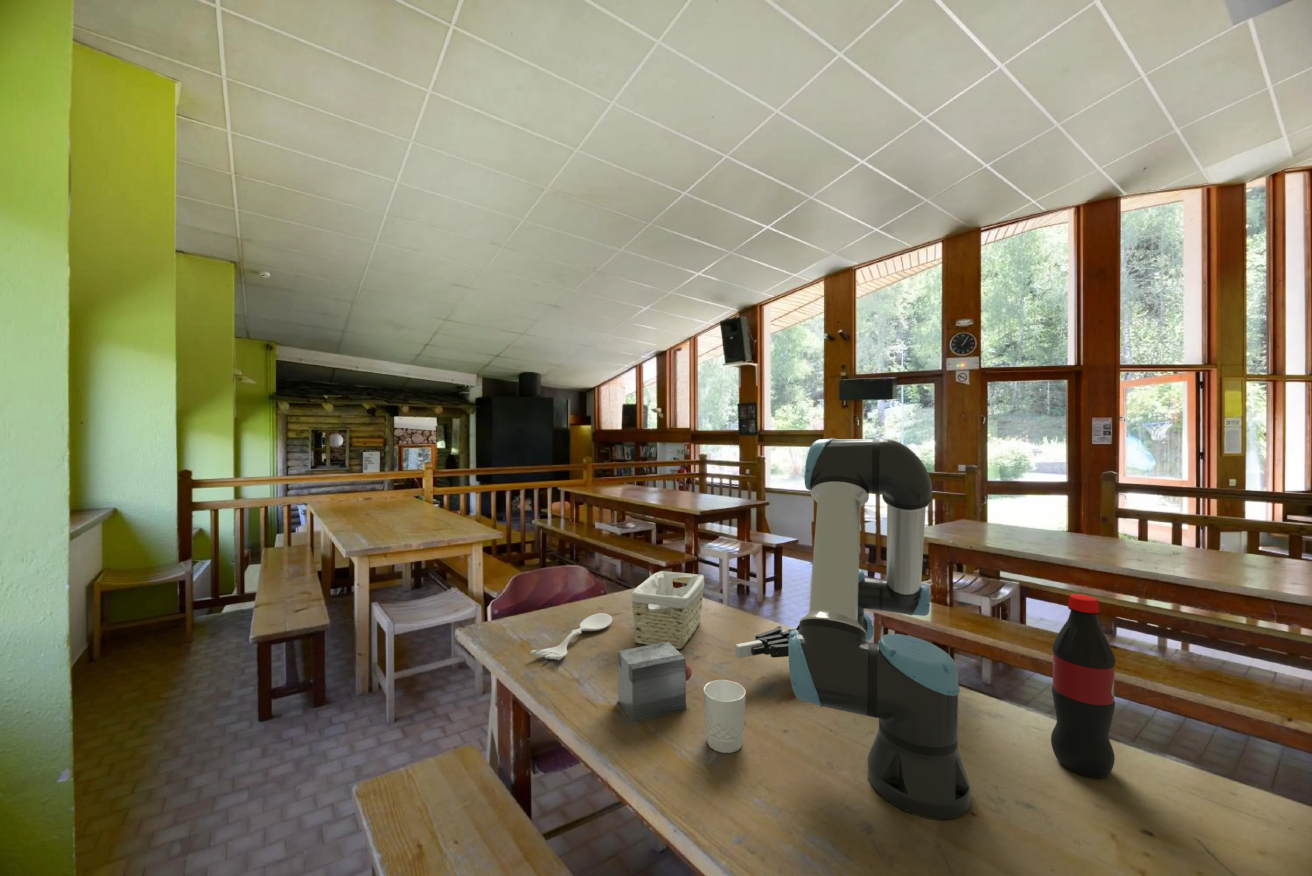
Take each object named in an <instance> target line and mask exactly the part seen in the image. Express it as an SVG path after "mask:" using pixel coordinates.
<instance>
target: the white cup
mask: <svg viewBox="0 0 1312 876" xmlns="http://www.w3.org/2000/svg"><path fill="white" fill-rule="evenodd" d="M746 692H747V691H746V689H745V687H744V686H743V685H741V684H740V683H739V682H735V681H733V680H728V679H727V680H726V679H716V680H712V681H709V682H708V683H706V684H705V685H704V687H703V703H704V704H703V705H704V708H703V709H704V721H705V722H704V723H705V728H706V731H705V732H706V743H707V745H708V747H709V748H710V749H712V750H714V751H715V752H719V753H722V754H733V753H734V752H738V751H739V750H740V749H741V748H742V747H743V737H744V736H743V734H744V731H745V715H746V712H745V711H746Z"/></svg>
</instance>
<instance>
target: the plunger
mask: <svg viewBox="0 0 1312 876" xmlns="http://www.w3.org/2000/svg"><path fill="white" fill-rule="evenodd" d="M692 673H693V672H692V668H691V665H689V664H688V663H687V662H686V682H688V681H689V680H690V679H691V677H692Z"/></svg>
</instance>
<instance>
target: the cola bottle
mask: <svg viewBox="0 0 1312 876" xmlns="http://www.w3.org/2000/svg"><path fill="white" fill-rule="evenodd" d="M1067 608H1068V610H1070V613H1069V615H1068V618H1067V620H1066V622H1065V623H1064V624H1063V626H1062V627H1061V629H1060V630H1059V632H1058V633H1057V636H1056V637H1055V639H1054V641H1053V643H1052V644H1051V645H1052V649H1051V650H1052V684H1051V695H1052V700H1053V705H1054V711H1055V717H1056V723H1055V726H1054V728H1053V729H1052V731H1051V735H1050V745H1051V749H1052V751H1053V754H1054V756H1055V757H1056V759H1057V761H1059V762H1060V764H1062V765H1063V766H1064V767H1066V768H1068V769H1069V770H1071V771H1073V772H1074V773H1076V774H1079V775H1082V776H1084V777H1085V776H1086V777H1089V778H1090V777H1091V778H1103V777H1104V778H1105V777H1107V776H1109V774H1110V773H1111V772H1112V770H1113V768H1114V766H1115V759H1116V758H1115V752H1114V749H1113V746H1112V743H1111V740H1110V738H1109V737H1110V736H1109V734H1110V731H1111V727H1112V726H1111V725H1112V722H1113V717H1114V714H1115V708H1116V702H1115V666H1116V664H1117V663H1116V660H1117V659H1116V657H1115V653H1114V652H1113V650H1112V647H1111V645H1110V643H1109V641H1108V639H1107V638H1106V636H1105V633H1104V632H1103V630H1102V628H1101V626H1100V624H1099V619H1098V616H1097V615H1099V614H1100V604H1099V601H1098V599H1097V598H1096V597H1093V596H1089V595H1087V594H1079V593H1078V594H1077V593H1072V594H1070V595H1069V598H1068V606H1067Z"/></svg>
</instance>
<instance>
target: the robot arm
mask: <svg viewBox="0 0 1312 876" xmlns="http://www.w3.org/2000/svg"><path fill="white" fill-rule="evenodd" d="M804 468H805V469H804V485H805V486H804V487H805V489H806V490H808V491H810V496H811V498H812V499H813V500H814V501H815V502H816V504H817V505H816V518H815V519H816V520H815V532H814V540H813V541H814V542H813V543H814V544H813V555H812V556H813V557H812V566H811V567H812V569H811V580H810V581H811V582H810V596H809V607H808V613H807V614H806V615H804V616H803V617H802V618H801V619H799V624H798V626H797V627H796V628H790V629H788V630H785V629H783V627H782V626H781V625H780V626H779V625H778V626H776V627H775V628H773V629H770V630H767V631H764V632H762V633H761V632H760V633H758V634H755V639H754V640H752V641H747V642H742V643H737V644H735V647H734V648H735V649H734V650H735V657H736V658H737V659H745V658H749V657H753V656H754V657H755V656H757V655H758V656H759V655H766V656H769V655H770V657H771V658H785V657H786V658H787V657H788V666H789V667H788V668H789V677H790V683H791V688H792V691H793V693H794V696H795V697H796V698H797V699H798V700H800V701H801V702H805V703H808V704H812V705H816V706H818V707H819V708H823V707H825V708H829V709H834V710H838V711H842V712H843V711H844V712H846V713H847V712H848V713H853V714H856V715H857V714H858V715H861V716H865V717H866V716H867V717H871V718H876V719H878V730H877V733H876V736H875V739H874V741H873V742H872V746H871V748H870V751H869V753H868V757H867V777H868V780H869V781H870V785H871V786H872V787H873V789H875V791H876V792H877V793H878V794H879V795H880V796H882V797H883V798H884V799H885V800H886V801H888V802H889V803H891V804H892V805H893V806H895V807H897V808H899V809H901V810H903V811H906V812H908V813H911V814H913V815H915V816H919V817H923V818H927V819H931V820H932V819H934V820H951V819H956V818H959V817H961V816H963V815H965V814H966V813H967V812H968V811H969V808H971V807H970V806H971V785H970V782H969V778H968V775H967V772H966V769H965V766H964V764H963V761H962V757H961V755H960V751H959V745H958V743H959V739H958V738H959V716H958V715H959V694H960V693H961V691H960V690H961V688H960V686H959V674H958V667H957V664H956V662H955V660H954V659H953V658H952V657H951V655H949V654H948V652H946V651H945V650H944V649H942V648H940V647H938V646H937V645H936V644H933V643H931V642H930V641H929V642H928V641H926V640H923V639H921V638H918V637H914V636H910V635H908V634H907V635H906V634H900V633H893V634H892V633H887V634H883V635H882V636H881V637H880V638H879V640H878V642H877V643H873V642H870V641H871V640H872V638H873V637H874V634H875V627H874V625H873V624H872V619H871V617H870V616H868V615H867V614H866V613H865V610H871V611H872V610H873V611H881V612H888V613H894V614H900V615H907V616H921V617H925V616H928V615H929V613H930V608H931V607H930V604H931V597H930V587H929V586H928V585H927V584H924V583H922V579H923V577H922V576H923V575H922V574H923V561H924V543H925V529H926V528H925V526H926V524H925V523H926V508H928V506H929V505H930V504H931V502H932V497H933V485H932V480H931V477H930V474H929V471H928V469H927V468H926V466H925V464H924V463H923V461H922V460H921V458H920V457H919V456H918V455H917V454H916V453H915V452H914V451H913V450H912V449H910V447H907V446H906V445H904V444H903V443H901V442H899V441H897V440H893V439H888V438H879V439H878V438H877V439H876V438H875V439H874V438H873V439H871V438H865V439H864V438H863V439H861V438H854V439H851V438H850V439H849V438H848V439H847V438H846V439H841V438H840V439H837V438H836V437H831V438H825V439H823V438H821V439H817V440H815V441H813V443H812V444H811V445H810V447H809V449H808V452H807V455H806V459H805V467H804ZM870 494H881V495H882V497H881V498H882V500H883V502H884V503H885V504H886V505H887V506H886V509H887V510H886V579H877V578H870V577H869V578H868V577H866V576H865V572H864V571H863V569H861V568H860V541H861V540H860V539H861V537H860V536H861V510H862V508H861V507H863V506H864V505H866V504H867V503H868V501H869V497H870Z"/></svg>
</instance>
